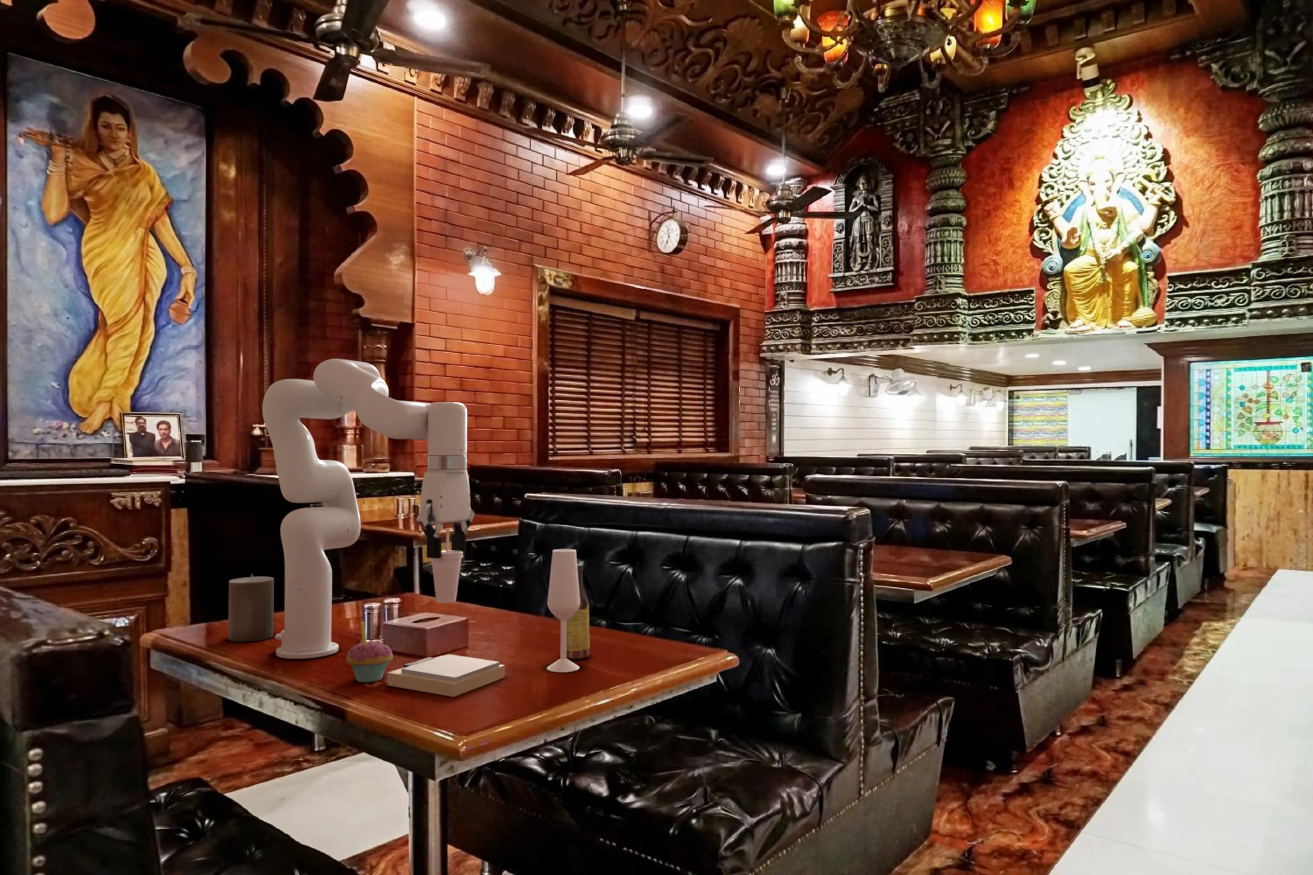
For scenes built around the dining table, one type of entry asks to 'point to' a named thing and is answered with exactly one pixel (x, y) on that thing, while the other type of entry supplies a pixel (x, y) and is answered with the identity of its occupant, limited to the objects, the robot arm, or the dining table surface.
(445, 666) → the scale
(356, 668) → the cupcake
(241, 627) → the pillar candle
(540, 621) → the dining table surface
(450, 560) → the smoothie
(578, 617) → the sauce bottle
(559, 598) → the champagne flute
